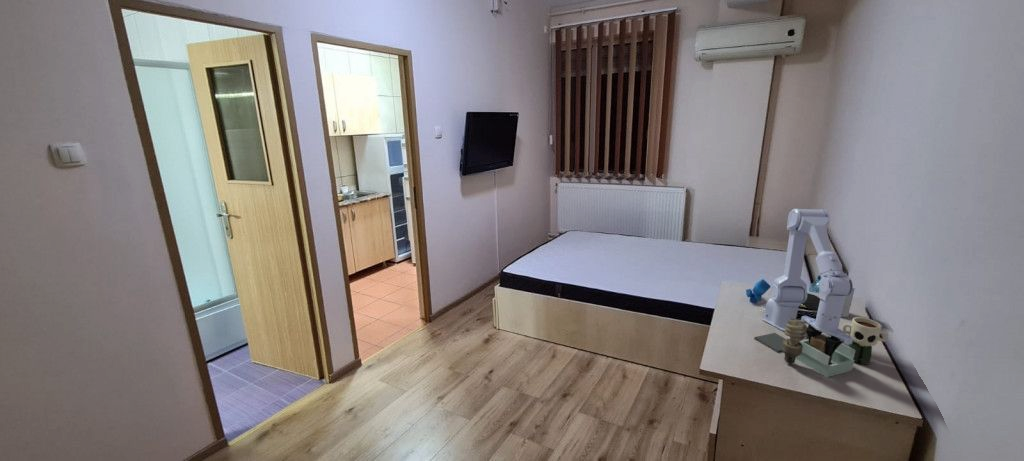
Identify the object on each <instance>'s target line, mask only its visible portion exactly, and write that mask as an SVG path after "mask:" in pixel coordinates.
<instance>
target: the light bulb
mask: <svg viewBox="0 0 1024 461" xmlns="http://www.w3.org/2000/svg"><path fill="white" fill-rule="evenodd" d="M807 327H808V325H807V324H806V323H803V322H802V321H801V319H800V320H799V319H797V318H796V319H792V318H791V319H789V322H787V323H786V327H785V330H786V331H783V332H784V335H785V336H787V337H789V338H785V340H783V343H782V350H783V351H782V352H783V354H784V357H783V358H784V361H785V363H787V364H788V365H793V364H795V362H796V357H797V356H799V355H800V354H801V352H802V349H803V345H802V344H801V343H800V342H799V341H803V340H805V337H806V336H805V335H807V333H806V330H807Z"/></svg>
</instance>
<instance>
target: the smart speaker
mask: <svg viewBox="0 0 1024 461" xmlns="http://www.w3.org/2000/svg"><path fill="white" fill-rule="evenodd" d="M819 303H820V297H819V296H817V295H815V294H814V293H813V294H812V293H808V292H807V299H806V301H805V302H804V303H801V304H803V305H805V306H806V307H807V308H808V309H807V310H810V309H813V311H814V310H818V307H819Z"/></svg>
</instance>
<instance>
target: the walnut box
mask: <svg viewBox="0 0 1024 461" xmlns="http://www.w3.org/2000/svg"><path fill="white" fill-rule="evenodd" d="M823 334H824V333H822V335H818V336H814V337H811V340H810V345H809V346H811V347H813V348H815V349H817V350H819V351H820V352H822V353H825V347H826V343H825V338H827V336H828V335H826V334H824V335H823ZM825 335H826V336H825ZM832 355H833V354H832ZM831 359H832V356H831V358H829V362H828V365H830V364H829V363H832V360H831Z"/></svg>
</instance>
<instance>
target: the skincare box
mask: <svg viewBox="0 0 1024 461" xmlns="http://www.w3.org/2000/svg"><path fill="white" fill-rule="evenodd" d="M855 289H856V288H855V287H854V286H853V290H852V293H851V294H850V295H848V296H846V297H845V301H844V305H843V310H842V314H841V318H848V317H849V313H850V310H851V306H852V302H853V298H854V297H853V296H854V293H855Z"/></svg>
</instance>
